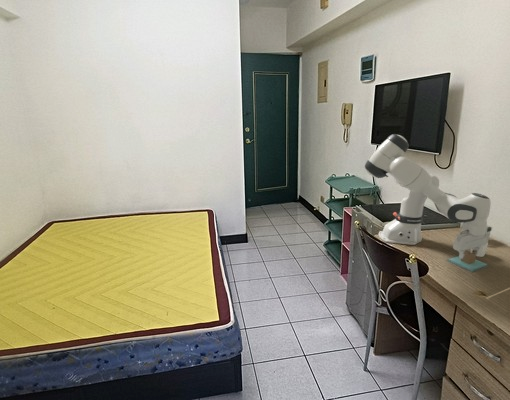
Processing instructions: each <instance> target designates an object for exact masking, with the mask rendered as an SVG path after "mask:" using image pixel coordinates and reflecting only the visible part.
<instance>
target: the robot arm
mask: <svg viewBox="0 0 510 400" xmlns="http://www.w3.org/2000/svg"><path fill="white" fill-rule="evenodd" d="M409 146H410V145H409V142H408V140H407V139H406V138H405V137H404V136H403V135H400V134H396V133H393V134H391V135H389V136H387V138H386V139H385V140H384V141H383V142H381V144H380V145H379V146H378V147H377V148H376V150H375V151H374V152H373V154H371V156H370V158H369V159H367V160H366V162H365V164H364V168H365V170H366V172H367V173H368V175H370V176H371V177H373V178H376V179H383V178H388V177H389V175H390V176H392V178H393V179H394V182H395V183H396V185H397V184H398V185H399V186H400V187H402V188H405V189H408V191H409V193H408V195H407V196H405V197H403V198H402V199H401V202H400V210H399V213H397V212H396V211H395V212H393V213H392V215H393V216H394V217H395V218H394V219H393V220H391V221H390V222H387V223H386V224H385V225H384V226H383V229H382V230H379V232H378V237H379V238H380V240H381V241H383V242H386V243H390V244H400V245H402V244H403V245H409V246H410V245H412V246H415V245H417V244H418V243H421V242H422V241H423V238H422V229H421V228H422V224H423V218H424V217H423V212H424V206H425V203H426V200H428V199H429V200H430V201H432V202H433V204H434V206H435V208H436V210H437V211H438V212H439V213H440V214H441V215H443V216H445V217H446V218H447V219H448V220H449V221H450V222H453V223H458V224H460V223H462V229H461V231H459V233H457V234H456V236H455V238H454V241H453V246H452V248H453V250H455V251H457V252H458V256H459V257H460V258H465V254H464V252H466V251H468V250H471V248H474V250H473V251H472V253H473V254H478V251H479V249H480V248H481V245H485V244H487V243H488V242H489V240H490V236H491V232H492V230H493V227H492V226H490V225H488V217H489V216H490V210H491V199H490V197H489V196H486V195H485V194H481V193H478V192H477V193H476V192H472V193H470V194H469V195H468V196H465V197H463V198H460V199H459V198H458V197H457V196H455V195H454V194H451V193H447V192H444V191H443V190H441V189H440V188H439V187H440V180H439V178H438V176H436V175H434V174H433V173H431V172H428V171H427V170H426V169H425V168H424V167H422V166H421V165H420V164H418V163H417V162H415V161H414V160H412V159H410V158H408V157H406V156H405V155H404V154H405V153H407V150H408V149H409ZM387 174H389V175H387Z"/></svg>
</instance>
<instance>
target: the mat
mask: <svg viewBox="0 0 510 400" xmlns="http://www.w3.org/2000/svg"><path fill="white" fill-rule="evenodd" d="M449 259H450V258H448V259H445V261H446V262H448V263H450V264H452V265H455V266H458V267H459V268H461V269H463V270H466V271H468V272H470V273H472V274H473V273H476V272H478V271H481V270H484V269H487V268H489V267H490V265H488V264H487V266H484V267H481V268H479V269H476V270H473V271H470V270H468V269H466V268H464V267H462V266H459V265H457V264H455V263H453V262H450V261H449Z"/></svg>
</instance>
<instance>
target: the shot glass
mask: <svg viewBox="0 0 510 400" xmlns="http://www.w3.org/2000/svg"><path fill="white" fill-rule="evenodd" d="M488 245H489V243H488V242H487V244H485V245H481V248H480V249H479V251H478V254H475V255H476V257H481V258H482V257H485V255H486V252H487V249H488V248H487V247H488ZM473 250H474V248H471V249H470V253H472V251H473Z"/></svg>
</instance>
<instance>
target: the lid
mask: <svg viewBox="0 0 510 400" xmlns="http://www.w3.org/2000/svg"><path fill="white" fill-rule="evenodd" d="M464 254H465V258H460V257H459V255H458V256H455V257H451V258H448V259H449V261H450V262H453V263H455V264H457V265H459V266H462V267H464V268H466V269H468V270H470V271H473V270H476V269H479V268H481V267H484V266H487V265H488V264H487V263H485V262H483V261H481V260H478V259H476V257H477V256H476V255H475V254H473V253H471V251H468V250H466V251H465V252H464ZM450 262H449V263H450ZM457 265H456V266H457ZM459 266H458V267H459ZM468 270H467V271H468ZM470 271H469V272H470Z"/></svg>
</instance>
